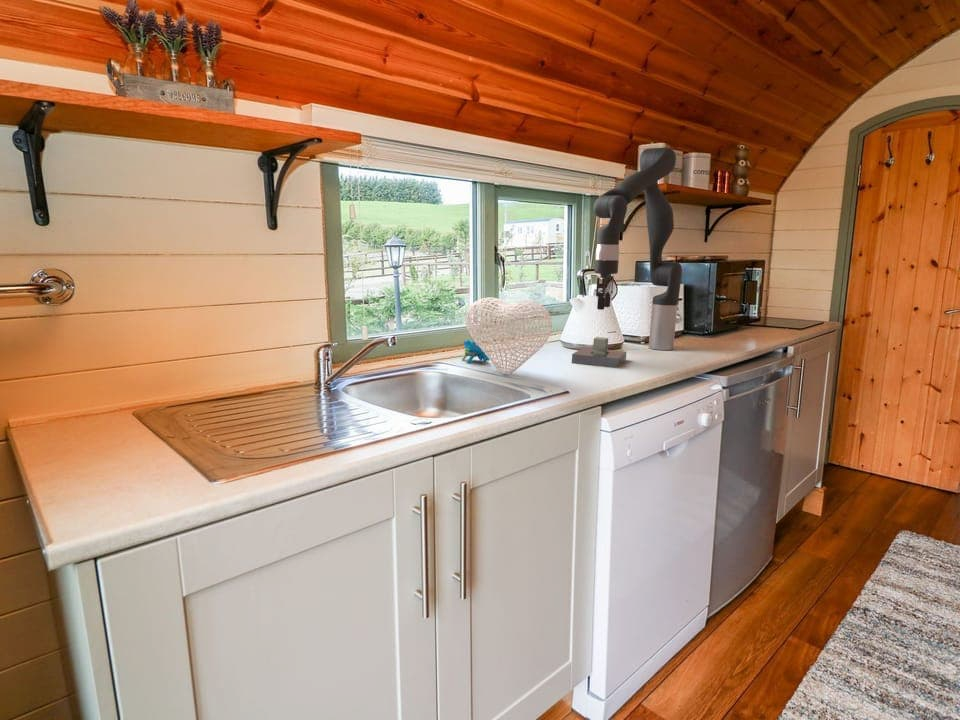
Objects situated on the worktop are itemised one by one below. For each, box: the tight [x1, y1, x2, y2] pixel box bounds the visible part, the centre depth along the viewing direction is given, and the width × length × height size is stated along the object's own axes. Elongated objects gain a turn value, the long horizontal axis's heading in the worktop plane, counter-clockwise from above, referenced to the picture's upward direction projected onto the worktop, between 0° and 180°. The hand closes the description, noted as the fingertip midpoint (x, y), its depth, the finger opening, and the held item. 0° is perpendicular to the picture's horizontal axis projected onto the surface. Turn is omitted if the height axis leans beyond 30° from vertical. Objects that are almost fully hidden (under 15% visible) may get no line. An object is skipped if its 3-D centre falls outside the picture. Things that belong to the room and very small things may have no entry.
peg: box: [592, 336, 609, 355], centre depth 196 cm, size 4×4×8 cm
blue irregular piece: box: [461, 339, 490, 364], centre depth 189 cm, size 11×6×10 cm
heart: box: [465, 296, 553, 375], centre depth 171 cm, size 28×16×22 cm, turn 47°
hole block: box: [571, 347, 627, 369], centre depth 196 cm, size 15×15×3 cm
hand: (603, 308), depth 193 cm, fingers open, 8 cm apart
